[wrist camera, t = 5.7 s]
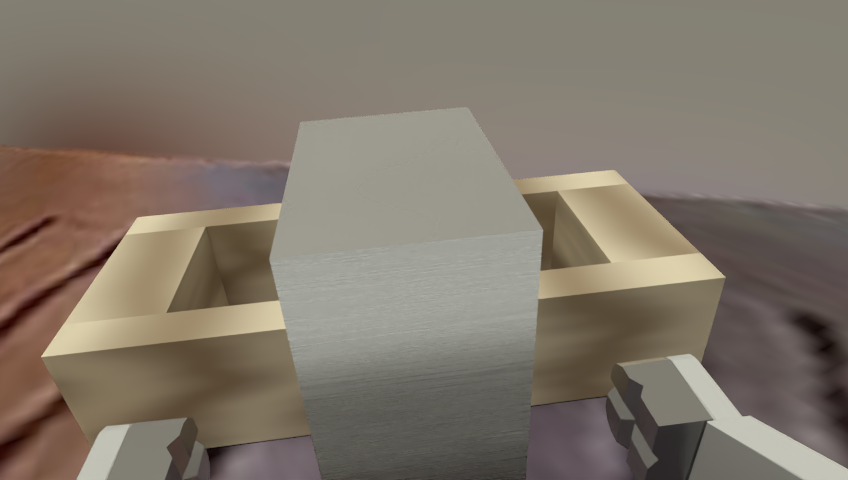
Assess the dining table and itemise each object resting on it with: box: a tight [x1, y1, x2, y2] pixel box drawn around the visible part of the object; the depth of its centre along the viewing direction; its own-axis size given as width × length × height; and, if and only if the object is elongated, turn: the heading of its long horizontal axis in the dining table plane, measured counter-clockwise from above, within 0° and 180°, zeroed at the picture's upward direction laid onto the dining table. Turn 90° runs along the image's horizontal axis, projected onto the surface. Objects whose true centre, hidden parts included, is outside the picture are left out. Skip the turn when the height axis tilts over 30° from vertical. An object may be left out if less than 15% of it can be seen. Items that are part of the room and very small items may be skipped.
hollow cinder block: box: [41, 170, 726, 448], centre depth 23 cm, size 22×9×5 cm, turn 97°
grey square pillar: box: [269, 107, 543, 480], centre depth 11 cm, size 3×4×13 cm, turn 7°
